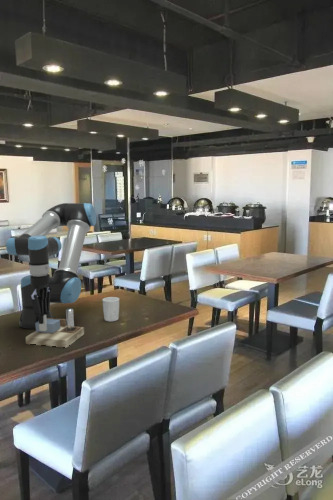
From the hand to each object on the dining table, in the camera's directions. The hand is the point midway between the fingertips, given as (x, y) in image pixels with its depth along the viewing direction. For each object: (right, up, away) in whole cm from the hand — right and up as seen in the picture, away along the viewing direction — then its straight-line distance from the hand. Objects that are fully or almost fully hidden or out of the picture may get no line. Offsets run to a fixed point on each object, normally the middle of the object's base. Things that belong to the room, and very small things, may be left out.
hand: (43, 330), depth 169 cm
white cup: (+24, 0, +27) cm, 37 cm away
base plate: (+5, -4, +2) cm, 7 cm away
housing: (+1, -1, +4) cm, 4 cm away
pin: (+10, -4, +4) cm, 12 cm away
